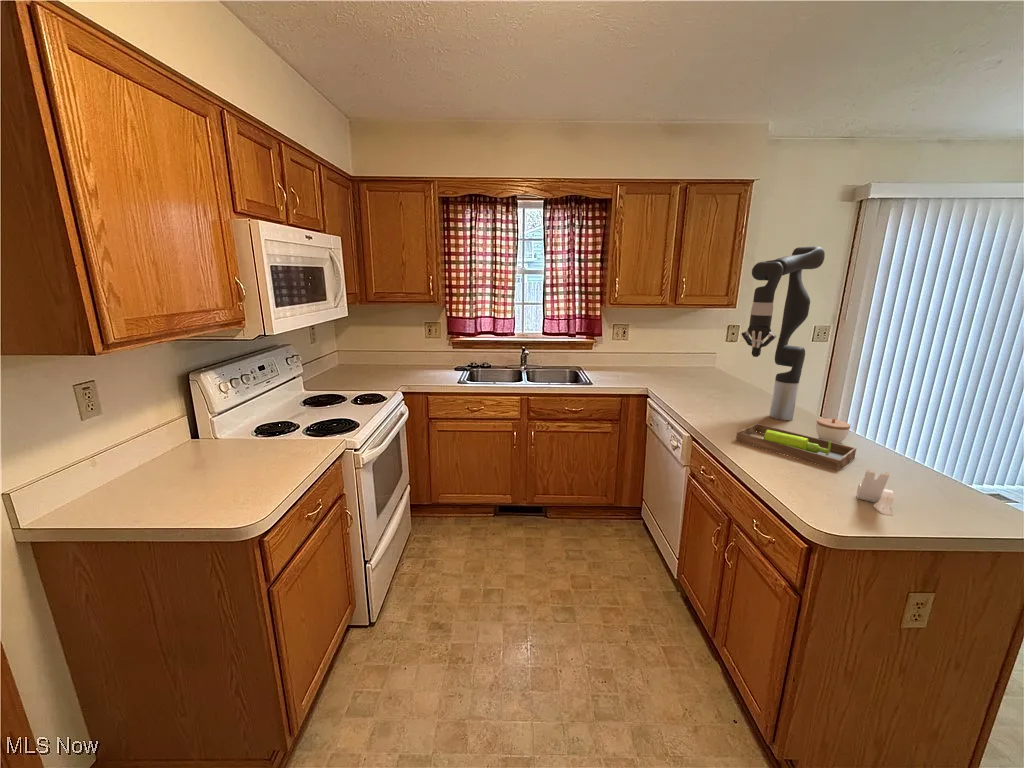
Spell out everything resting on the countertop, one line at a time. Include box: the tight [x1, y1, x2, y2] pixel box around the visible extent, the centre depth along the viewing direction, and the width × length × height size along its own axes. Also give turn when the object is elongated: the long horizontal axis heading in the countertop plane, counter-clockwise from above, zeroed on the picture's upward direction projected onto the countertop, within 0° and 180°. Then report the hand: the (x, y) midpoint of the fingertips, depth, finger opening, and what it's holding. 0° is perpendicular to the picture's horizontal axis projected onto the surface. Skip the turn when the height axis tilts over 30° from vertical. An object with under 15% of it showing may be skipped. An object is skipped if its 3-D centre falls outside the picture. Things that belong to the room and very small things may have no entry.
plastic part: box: [856, 468, 895, 517], centre depth 123 cm, size 8×10×12 cm
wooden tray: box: [735, 423, 857, 471], centre depth 165 cm, size 18×34×4 cm, turn 39°
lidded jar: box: [815, 417, 851, 444], centre depth 172 cm, size 11×11×9 cm
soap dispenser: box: [763, 430, 831, 456], centre depth 160 cm, size 6×7×20 cm
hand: (755, 356), depth 179 cm, fingers closed
